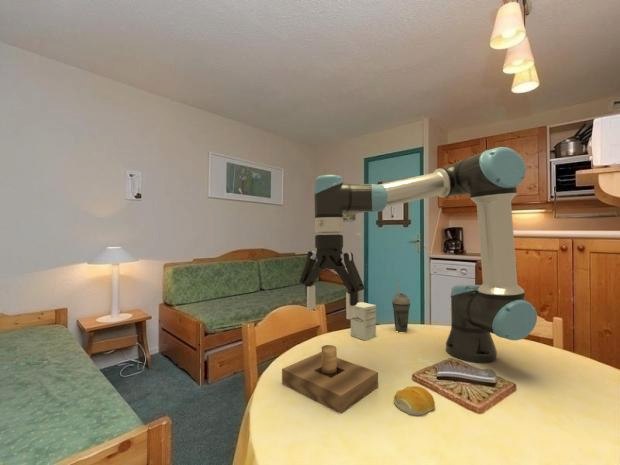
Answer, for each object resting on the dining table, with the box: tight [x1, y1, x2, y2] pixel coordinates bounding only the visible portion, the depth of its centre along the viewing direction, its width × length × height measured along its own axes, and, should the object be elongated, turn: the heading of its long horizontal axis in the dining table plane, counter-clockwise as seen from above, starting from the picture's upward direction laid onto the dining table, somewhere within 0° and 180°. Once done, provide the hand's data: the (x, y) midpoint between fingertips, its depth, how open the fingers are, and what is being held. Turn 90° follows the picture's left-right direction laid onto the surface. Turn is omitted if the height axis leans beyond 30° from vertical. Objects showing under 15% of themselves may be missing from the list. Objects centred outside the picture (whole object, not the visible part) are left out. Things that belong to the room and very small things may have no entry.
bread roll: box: [393, 385, 436, 416], centre depth 72 cm, size 8×9×4 cm
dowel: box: [321, 344, 338, 378], centre depth 81 cm, size 4×4×10 cm
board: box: [281, 351, 379, 414], centre depth 81 cm, size 20×16×4 cm
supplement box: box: [350, 301, 377, 341], centre depth 120 cm, size 7×7×13 cm
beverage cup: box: [391, 282, 411, 333], centre depth 126 cm, size 7×7×20 cm
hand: (329, 313), depth 81 cm, fingers open, 13 cm apart
